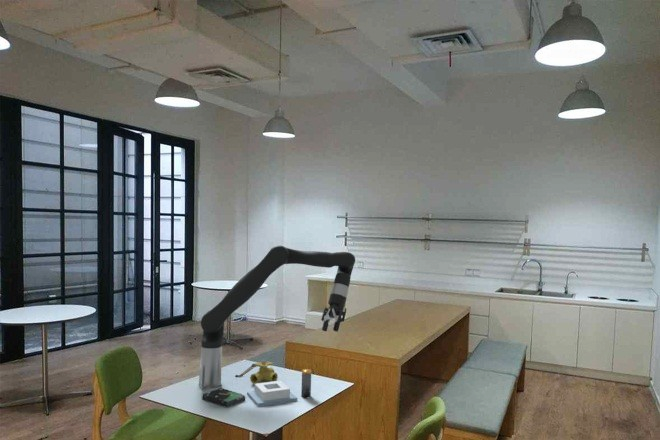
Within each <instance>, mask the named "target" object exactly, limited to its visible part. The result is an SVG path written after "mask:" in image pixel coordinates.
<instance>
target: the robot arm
mask: <svg viewBox="0 0 660 440" xmlns="http://www.w3.org/2000/svg"><path fill="white" fill-rule="evenodd" d="M355 263H356V257H355V255H354V254H353V253H351V252H348V251H336V252H327V251H318V250H317V251H316V250H314V251H313V250H312V251H311V250H309V251H308V250H298V249H293V248H288V247H285V246H283V245H275V246H273V247H272V248H270V250H269V251H268V252H267V254H266V255H265V256H264V257H263V259H261V261H260V262H259V263H258V264H257V265H256V266H255V267H253V268H251V270H249V271H248V272H247V273H246V274H245V275H243V277H241V278H240V279H239V280H238V281H237V282H236V283H235V284H234V285H233V286H232V287H231V289H230V290H229V291H228V292H227V293H226V295H225V296H224V297H223V299H222V300H221V301H220V302H219V303H218V304H216V305H215V306H214V307H213V308H212V309H210V310H208V311H207V312H206V313H204V314H203V315H202V317H201V321H200V327H201V329H202V331H203V332H202V338H201V348H200V349H201V350H200V362H199V370H198V372H199V373H198V384H199V385H200V387H201V388H216V387H219V386H220V385H222V368H223V367H222V364H223V363H222V360H223V340H224V331H225V329H224V328H225V321H226V320H227V319H228V318H229V317H230V316H231V315H232V314H233V313H234V312H235V311H236V310H238V309H239V308H240V307H242V306H243V305H244V304H245V303H246V302H248V301H249V300H250V299H251V298H252V297H253V296H254V295H255V294H256V293H257V292H258V291H259V290H260V289H261V287H262V286H263V285H264V283H265V282H266V281H267V279H269V277H270V276H271V275H272V274H273V273H274V272H275V271H276V270H278V269H279V268H280V267H282V266H284V265H291V264H292V265H293V264H296V265H305V266H306V265H307V266H311V267H319V268H329V269H330V268H333V267H337V272H336V274H335V276H334V281H333V285H332V287H331V290H330V293H329V297H328V302H327V304H328V305H329V307H324V309H323V313H322V315H321V319H320V320H321V321H322V322H323V324H322V328H321V329H322V331H323V332H327V331H328V326H329V323H330V321H332V320H333V319H334V324H333V328H332V331H334V332H335V333H336V332H337V333H338V331H339V330H340V329H339V328H340V324H342V323H343V322H345V320H346V313H347V307H346V302H347V297H348V294H349V287H350V283H351V276H352V273H353V269H354V266H355Z"/></svg>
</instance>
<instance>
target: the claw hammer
mask: <svg viewBox="0 0 660 440" xmlns="http://www.w3.org/2000/svg"><path fill="white" fill-rule="evenodd" d="M254 364H255V363H252V364H251V365H250V367H248V368H247V369H245V370H244V371H243V372H242V373H240V374H239V375H238V374H235V377H236V378H241V377H244V376H245V375H246V374H247V373H248V372H249V371H251V370H252V369H254V368H255V366H254ZM253 367H254V368H253ZM250 369H251V370H250ZM246 372H247V373H246ZM243 375H244V376H243Z"/></svg>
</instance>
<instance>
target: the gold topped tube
mask: <svg viewBox="0 0 660 440" xmlns="http://www.w3.org/2000/svg"><path fill="white" fill-rule="evenodd" d="M311 391H312V369H310V368H304V369H302V370H301V398H303V399H308V398H311V397H312V396H311V394H312V393H311Z"/></svg>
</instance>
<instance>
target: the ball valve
mask: <svg viewBox="0 0 660 440" xmlns="http://www.w3.org/2000/svg"><path fill="white" fill-rule="evenodd" d="M253 364H254V367H259V369H258V371H257V372H255V373H252V374H251V375H250V377H249V379H250V382H251V383H252V384H253V385H255V384H257V383H265V382H273V381H278V374H277V372H275V370H274V368H273V367H268V366H273V365H274V362H271V361H267V360H266V359H261V361H259V362H255V363H253Z"/></svg>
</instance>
